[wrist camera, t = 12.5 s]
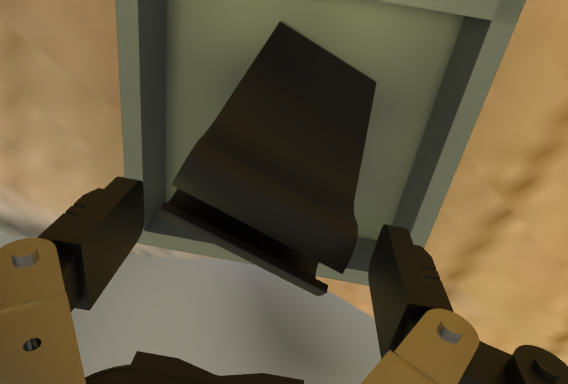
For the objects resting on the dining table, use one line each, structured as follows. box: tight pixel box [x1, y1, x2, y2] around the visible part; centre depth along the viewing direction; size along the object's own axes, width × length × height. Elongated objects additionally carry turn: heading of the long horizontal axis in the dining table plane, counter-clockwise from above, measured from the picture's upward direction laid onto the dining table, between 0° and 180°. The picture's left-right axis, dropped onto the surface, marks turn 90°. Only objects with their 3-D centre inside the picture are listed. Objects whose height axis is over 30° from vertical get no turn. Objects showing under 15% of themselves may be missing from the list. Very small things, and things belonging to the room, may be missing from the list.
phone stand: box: [158, 21, 377, 296], centre depth 17 cm, size 9×6×12 cm, turn 150°
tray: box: [115, 0, 526, 286], centre depth 21 cm, size 17×16×4 cm
